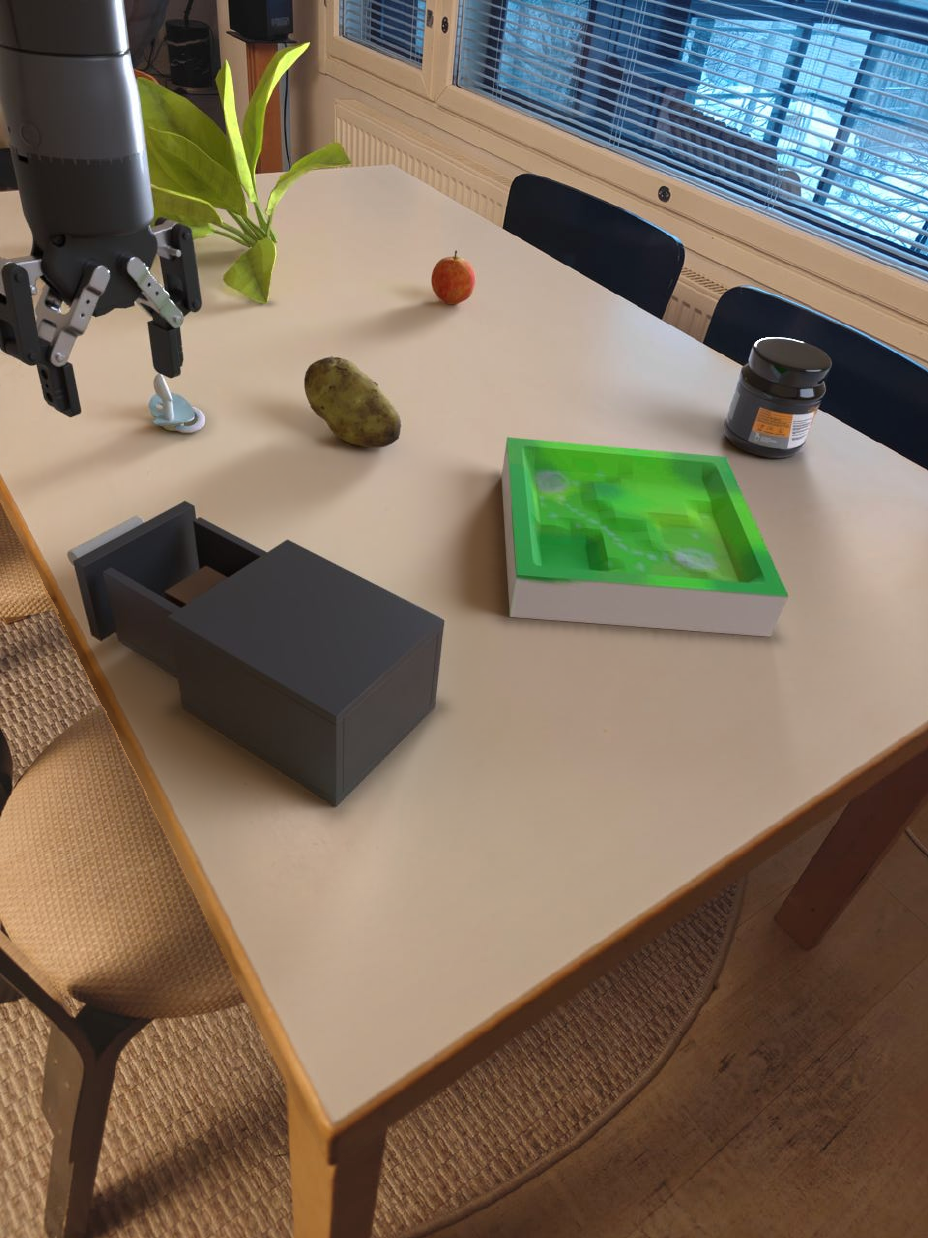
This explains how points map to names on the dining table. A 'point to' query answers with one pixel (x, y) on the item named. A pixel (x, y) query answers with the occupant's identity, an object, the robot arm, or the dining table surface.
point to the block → (193, 586)
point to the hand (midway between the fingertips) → (119, 392)
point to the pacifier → (173, 409)
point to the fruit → (453, 279)
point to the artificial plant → (221, 168)
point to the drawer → (150, 575)
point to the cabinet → (307, 666)
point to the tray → (634, 540)
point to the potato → (351, 403)
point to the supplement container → (777, 397)
